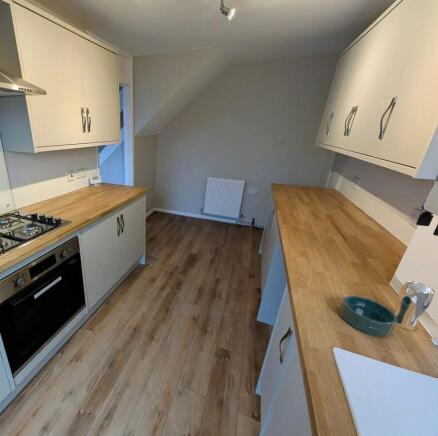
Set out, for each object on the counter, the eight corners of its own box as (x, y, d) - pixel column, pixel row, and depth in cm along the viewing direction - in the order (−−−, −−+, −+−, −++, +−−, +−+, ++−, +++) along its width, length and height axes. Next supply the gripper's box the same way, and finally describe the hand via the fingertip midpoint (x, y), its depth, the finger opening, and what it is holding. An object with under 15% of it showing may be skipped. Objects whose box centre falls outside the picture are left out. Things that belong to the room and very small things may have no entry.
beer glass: (389, 312, 86) (405, 278, 81) (417, 324, 82) (436, 287, 76) (387, 322, 82) (403, 285, 77) (416, 334, 77) (435, 296, 72)
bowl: (381, 315, 85) (386, 302, 84) (399, 343, 74) (405, 329, 72) (335, 303, 91) (339, 291, 89) (345, 328, 79) (350, 315, 77)
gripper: (495, 186, 64) (465, 243, 70) (452, 176, 79) (430, 223, 85) (456, 183, 67) (430, 238, 73) (421, 174, 82) (402, 220, 88)
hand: (430, 230), depth 79 cm, fingers open, 9 cm apart
